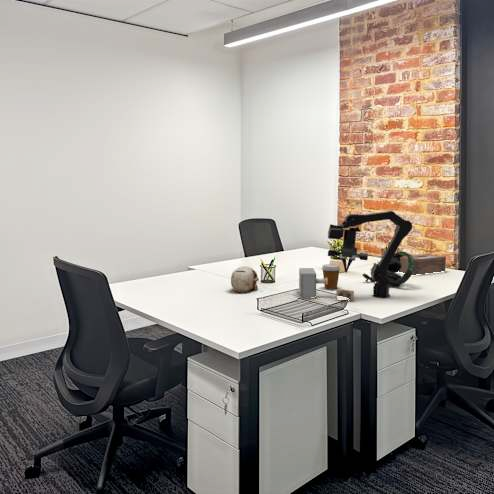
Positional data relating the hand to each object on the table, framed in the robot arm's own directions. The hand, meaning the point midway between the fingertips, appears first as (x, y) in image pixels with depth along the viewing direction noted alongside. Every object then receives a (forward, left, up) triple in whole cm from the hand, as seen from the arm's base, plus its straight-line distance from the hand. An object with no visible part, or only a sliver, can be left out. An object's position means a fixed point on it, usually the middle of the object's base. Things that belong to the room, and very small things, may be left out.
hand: (346, 272), depth 253 cm
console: (+17, +7, -12) cm, 22 cm away
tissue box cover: (-7, -86, -12) cm, 87 cm away
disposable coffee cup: (+15, -13, -12) cm, 23 cm away
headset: (-7, -37, -12) cm, 40 cm away
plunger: (+10, +7, -6) cm, 13 cm away
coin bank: (+49, +16, -12) cm, 53 cm away
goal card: (-4, +9, -12) cm, 15 cm away
